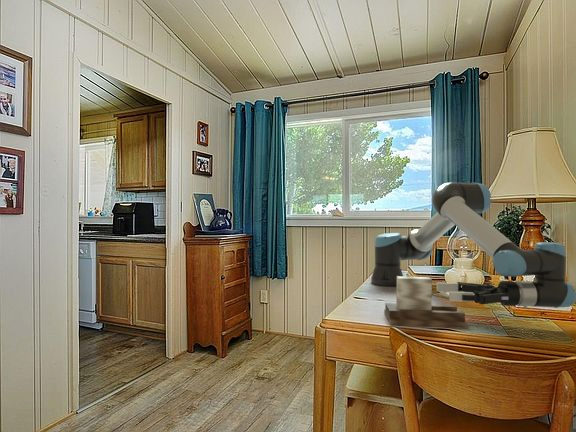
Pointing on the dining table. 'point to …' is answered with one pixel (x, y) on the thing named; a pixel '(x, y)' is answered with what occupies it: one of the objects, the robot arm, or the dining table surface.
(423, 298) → the pale grey rectangular block
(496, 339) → the dining table surface
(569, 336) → the dining table surface
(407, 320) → the groove board
